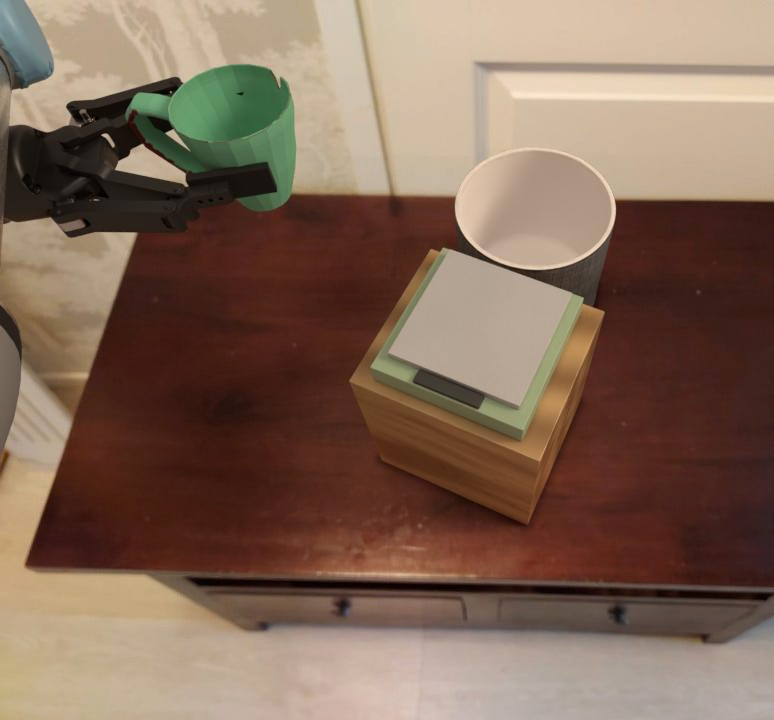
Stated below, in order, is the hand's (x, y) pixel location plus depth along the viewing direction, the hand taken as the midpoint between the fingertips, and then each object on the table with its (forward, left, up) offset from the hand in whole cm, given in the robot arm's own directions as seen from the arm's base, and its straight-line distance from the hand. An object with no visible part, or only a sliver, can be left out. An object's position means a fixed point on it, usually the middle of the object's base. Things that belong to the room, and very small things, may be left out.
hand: (269, 136), depth 56 cm
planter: (+15, -19, -31) cm, 40 cm away
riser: (-6, -22, -31) cm, 39 cm away
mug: (-2, +4, -6) cm, 8 cm away
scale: (-6, -22, -11) cm, 26 cm away
